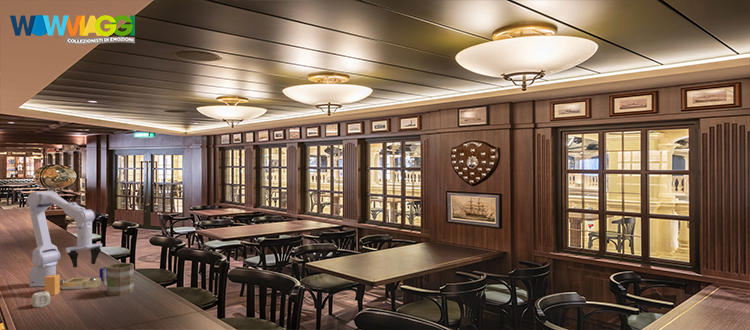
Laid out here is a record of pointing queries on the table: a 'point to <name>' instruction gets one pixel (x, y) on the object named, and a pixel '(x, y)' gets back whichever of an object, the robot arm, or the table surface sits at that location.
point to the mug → (119, 279)
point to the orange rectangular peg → (52, 284)
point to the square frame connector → (80, 283)
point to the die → (40, 299)
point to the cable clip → (102, 274)
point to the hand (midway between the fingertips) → (84, 265)
